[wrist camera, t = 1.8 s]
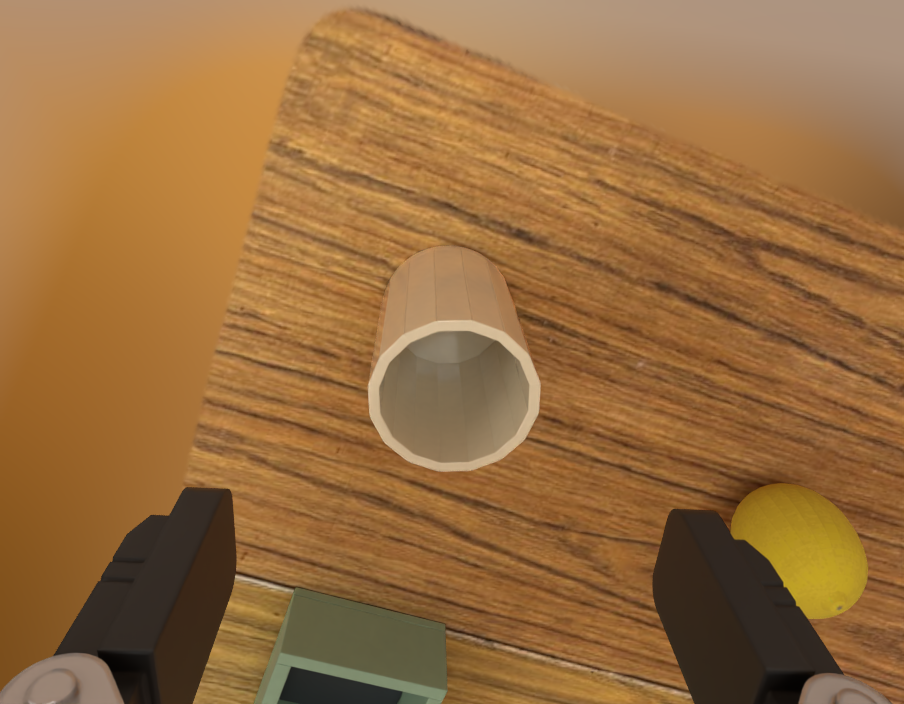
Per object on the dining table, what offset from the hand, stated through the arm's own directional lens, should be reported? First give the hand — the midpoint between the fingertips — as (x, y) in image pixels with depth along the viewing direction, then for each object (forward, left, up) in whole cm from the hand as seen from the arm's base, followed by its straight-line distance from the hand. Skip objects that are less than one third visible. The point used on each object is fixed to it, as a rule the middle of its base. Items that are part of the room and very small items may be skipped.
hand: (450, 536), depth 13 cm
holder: (+16, -26, -20) cm, 36 cm away
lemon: (+23, +2, -20) cm, 30 cm away
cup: (+3, -2, -20) cm, 20 cm away
